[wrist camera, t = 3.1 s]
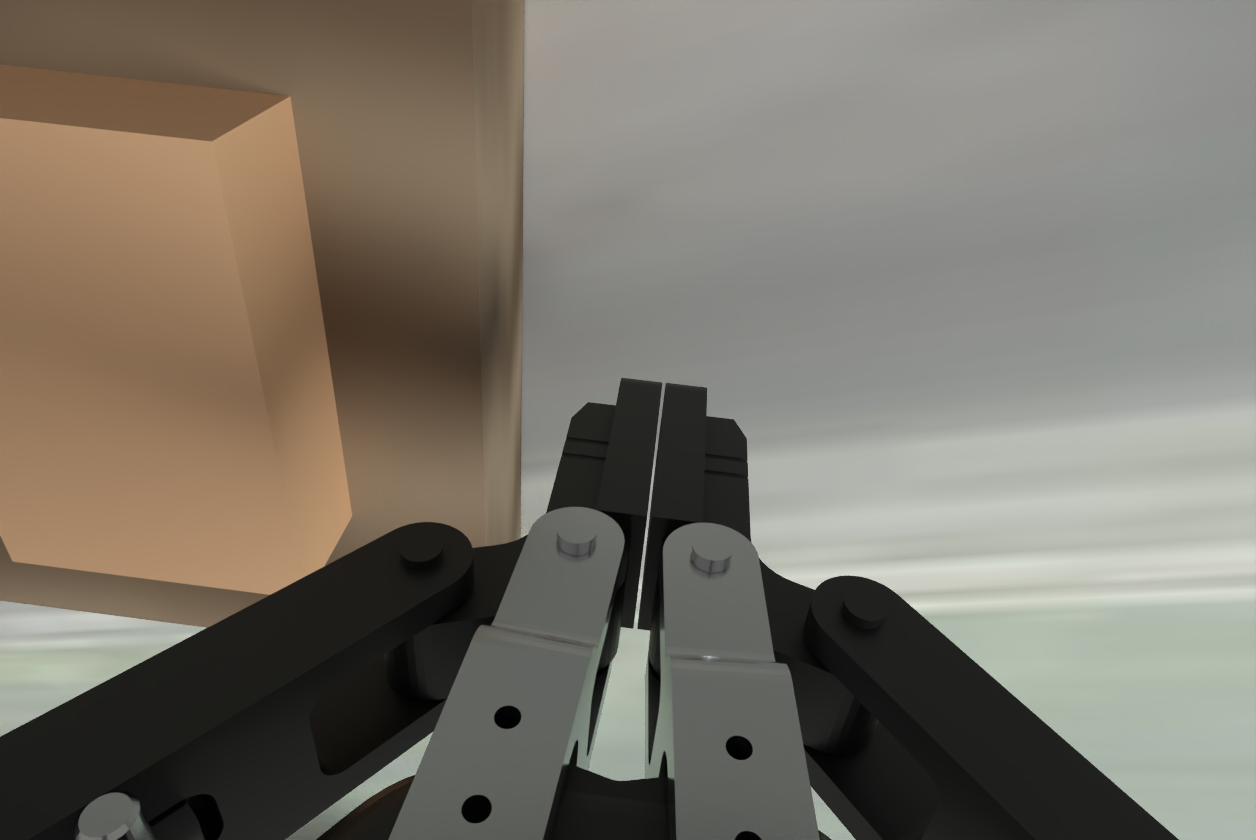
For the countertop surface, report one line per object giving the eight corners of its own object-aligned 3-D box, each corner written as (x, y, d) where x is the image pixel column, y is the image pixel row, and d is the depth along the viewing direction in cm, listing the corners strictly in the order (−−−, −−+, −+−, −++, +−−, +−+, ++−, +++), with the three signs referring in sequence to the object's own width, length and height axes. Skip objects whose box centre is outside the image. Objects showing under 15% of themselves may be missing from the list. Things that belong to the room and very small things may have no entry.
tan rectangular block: (-70, 56, 14) (-212, 94, 11) (290, 96, 13) (211, 141, 11) (90, 483, 19) (12, 561, 17) (351, 516, 18) (306, 599, 16)
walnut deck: (-272, -299, 14) (-566, -342, 11) (526, -222, 14) (465, -243, 11) (55, 494, 25) (-47, 593, 21) (520, 553, 24) (488, 664, 21)
